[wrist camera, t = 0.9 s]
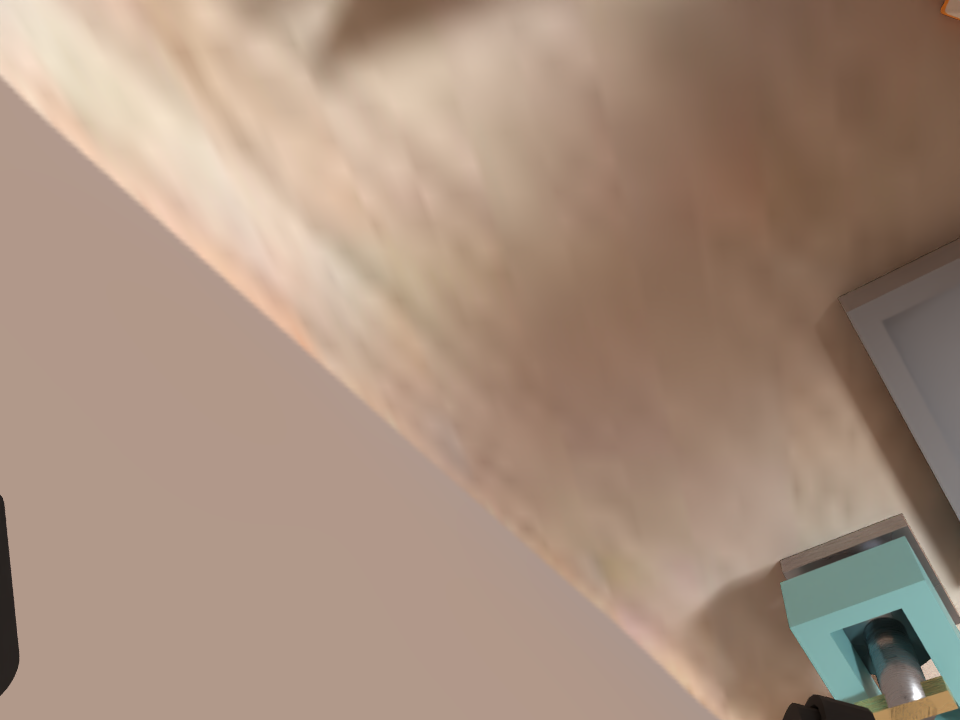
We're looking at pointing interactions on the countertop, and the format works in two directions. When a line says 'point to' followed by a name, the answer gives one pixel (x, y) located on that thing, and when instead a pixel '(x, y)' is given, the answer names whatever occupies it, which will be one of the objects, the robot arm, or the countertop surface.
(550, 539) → the countertop surface
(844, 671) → the teal rectangular frame
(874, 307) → the tray
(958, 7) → the supplement box
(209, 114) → the countertop surface
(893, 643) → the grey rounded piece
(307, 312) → the countertop surface
